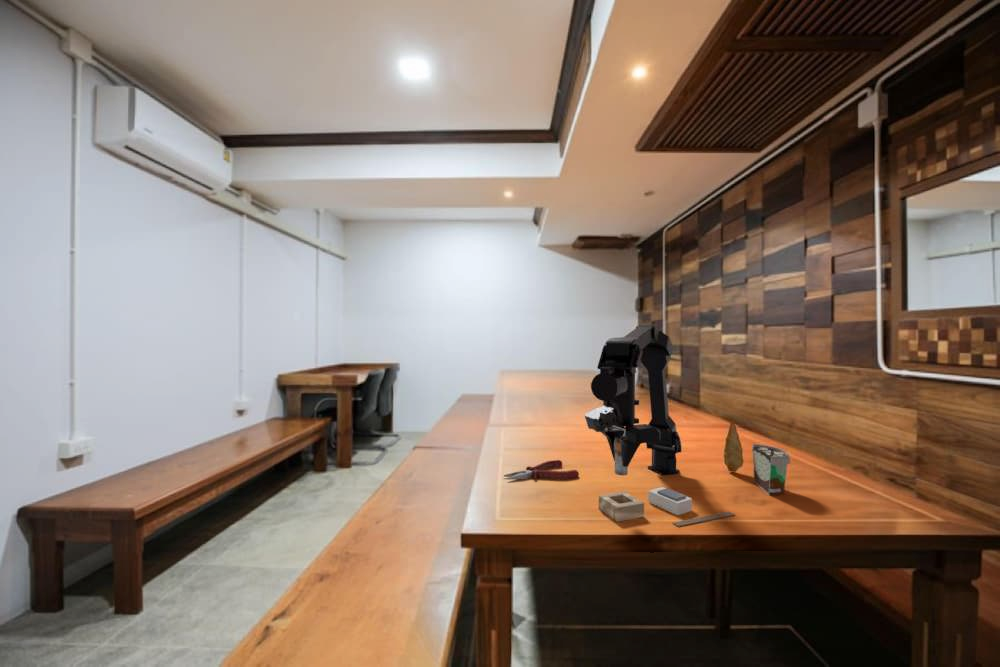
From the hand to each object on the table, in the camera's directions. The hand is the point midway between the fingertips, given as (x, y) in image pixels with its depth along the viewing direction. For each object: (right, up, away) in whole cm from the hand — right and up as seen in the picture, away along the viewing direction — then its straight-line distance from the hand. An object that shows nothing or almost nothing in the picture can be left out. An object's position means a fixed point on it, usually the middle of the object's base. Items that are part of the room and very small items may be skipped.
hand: (621, 464), depth 93 cm
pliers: (-16, -11, +25) cm, 32 cm away
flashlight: (0, -2, 0) cm, 2 cm away
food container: (+44, -11, +14) cm, 47 cm away
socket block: (0, -11, 0) cm, 11 cm away
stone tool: (+40, -11, +27) cm, 49 cm away
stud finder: (+12, -11, +4) cm, 17 cm away
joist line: (+17, -11, -3) cm, 21 cm away
